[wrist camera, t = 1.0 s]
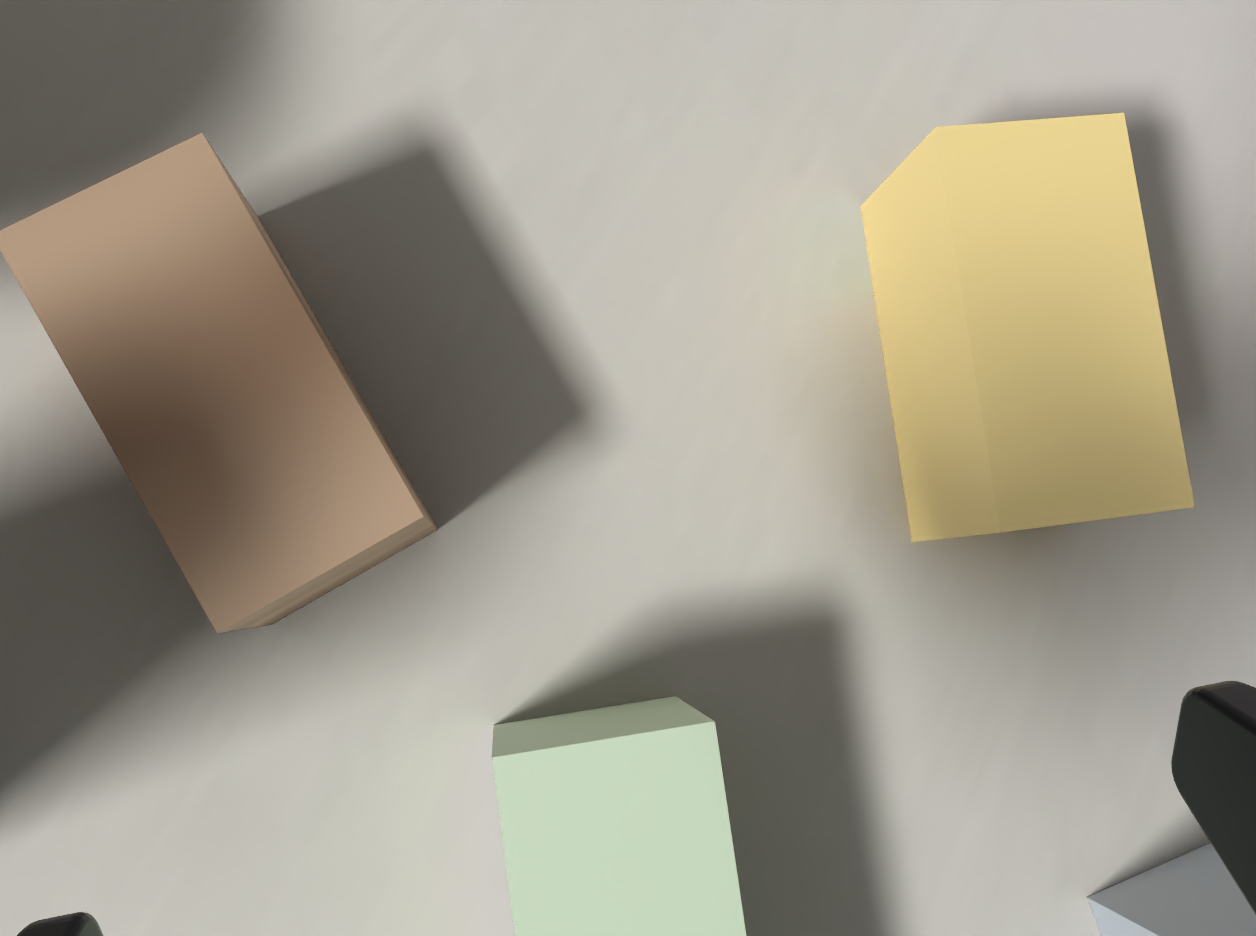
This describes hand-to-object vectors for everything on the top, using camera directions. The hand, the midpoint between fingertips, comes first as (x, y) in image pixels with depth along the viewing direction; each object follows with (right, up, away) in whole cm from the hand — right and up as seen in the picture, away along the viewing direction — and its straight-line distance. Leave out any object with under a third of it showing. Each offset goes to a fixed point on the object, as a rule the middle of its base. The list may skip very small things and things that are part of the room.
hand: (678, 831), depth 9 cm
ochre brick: (+7, +5, +14) cm, 16 cm away
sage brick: (-1, -5, +12) cm, 13 cm away
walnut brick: (-7, +4, +12) cm, 14 cm away
